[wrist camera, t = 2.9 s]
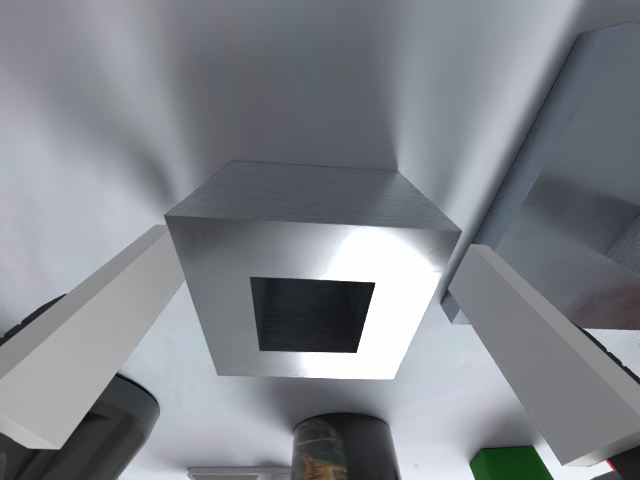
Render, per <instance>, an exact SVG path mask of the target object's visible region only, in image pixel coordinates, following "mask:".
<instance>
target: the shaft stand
mask: <svg viewBox="0 0 640 480" xmlns="http://www.w3.org/2000/svg"><path fill="white" fill-rule="evenodd" d="M472 244H478V245H488V246H489V247H490V248H491V249H492V250H493V251H494V252H495V253H496V254H497V255H499V256H500V257H501V258H502V259H503V260H504V261H505V262H506V263H507V264H508V265H509V266H510V267H512V268H513V269H514V270H515V271H516V272H517V273H518V274H519V275H520V276H521V277H522V278H524V279H525V280H526V281H527V282H528V283H529V284H530V285H531V286H532V287H533V288H534V289H536V290H537V291H538V292H539V293H540V294H541V295H542V296H543V297H544V298H545V299H546V300H548V301H549V302H550V303H551V304H552V305H553V306H554V307H555V308H556V309H557V310H558V311H559V312H561V313H562V314H563V315H564V316H565V317H566V318H567V319H569V320H570V321H572V322H573V323H575V324H576V325H578V326H579V327H581V328H589V329H619V330H640V23H635V22H627V23H623V24H619V25H614V26H610V27H606V28H602V29H597V30H593V31H589V32H584V33H580V35H579V37H578V39H577V41H576V43H575V45H574V47H573V48H572V50H571V52H570V54H569V56H568V58H567V60H566V62H565V64H564V66H563V68H562V70H561V72H560V74H559V76H558V78H557V80H556V82H555V84H554V85H553V87H552V89H551V91H550V93H549V95H548V97H547V99H546V101H545V103H544V105H543V107H542V109H541V111H540V113H539V115H538V117H537V119H536V121H535V122H534V124H533V126H532V128H531V130H530V132H529V134H528V136H527V138H526V140H525V142H524V144H523V146H522V148H521V150H520V152H519V154H518V156H517V157H516V159H515V161H514V163H513V165H512V167H511V169H510V171H509V173H508V175H507V177H506V179H505V181H504V183H503V185H502V187H501V189H500V191H499V193H498V194H497V196H496V198H495V200H494V202H493V204H492V206H491V208H490V210H489V212H488V214H487V216H486V218H485V220H484V222H483V224H482V226H481V228H480V229H479V231H478V233H477V235H476V237H475V239H474V241H473V243H472ZM441 307H442V308H443V310H444V312H445V314H446V315H447V317H448V319H449V320H450V322H451V324H470V322H469V321H468V319H467V318H466V316H465V314H464V313H463V311H462V310H461V308H460V307H459V305H458V304H457V302H456V300H455V299H454V297H453V296H452V294H451V293H450V291H449V290H448V292H447V294H446V296H445V298H444V300H443V302H442V303H441Z"/></svg>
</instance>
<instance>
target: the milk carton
mask: <svg viewBox="0 0 640 480" xmlns="http://www.w3.org/2000/svg"><path fill="white" fill-rule="evenodd" d="M469 465H470V468H471V470H472V473H473V475H474V478H475V480H554V479H553V477H552V476H551V474H550V472H549V471H548V469H547V468H546V466H545V464H544V463H543V461H542V459H541V458H540V456H539V455H538V453H537V451H536V450H535V448H534V447H533V446H532V447H515V448H496V449H481V451H480V452H479V453H478V454H477V456H476V457H475V458H474V459H473V461H472V462H471V463H470V464H469Z"/></svg>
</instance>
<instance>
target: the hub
mask: <svg viewBox="0 0 640 480" xmlns="http://www.w3.org/2000/svg"><path fill="white" fill-rule="evenodd" d="M164 217H165V220H166V223H167V226H168V229H169V232H170V235H171V238H172V241H173V244H174V247H175V250H176V253H177V256H178V259H179V262H180V265H181V268H182V270H183V273H184V276H185V279H186V282H187V285H188V288H189V291H190V294H191V297H192V300H193V303H194V306H195V309H196V312H197V315H198V318H199V321H200V324H201V327H202V330H203V333H204V336H205V339H206V342H207V345H208V348H209V351H210V354H211V357H212V360H213V363H214V366H215V369H216V372H217V375H218V376H264V377H310V378H355V379H393V378H394V376H395V374H396V372H397V370H398V367H399V365H400V363H401V361H402V359H403V357H404V355H405V353H406V350H407V348H408V346H409V344H410V342H411V340H412V338H413V335H414V333H415V331H416V329H417V327H418V325H419V323H420V321H421V318H422V316H423V314H424V312H425V310H426V308H427V306H428V304H429V301H430V299H431V297H432V295H433V293H434V291H435V289H436V286H437V284H438V282H439V280H440V278H441V276H442V274H443V272H444V269H445V267H446V265H447V263H448V261H449V259H450V257H451V255H452V252H453V250H454V248H455V246H456V244H457V242H458V240H459V237H460V235H461V233H462V230H461V229H460V228H459V227H457V226H456V225H455V224H454V223H453V222H452V221H451V220H450V219H449V218H448V217H447V216H446V215H445V214H444V213H442V212H441V211H440V210H439V209H438V208H437V207H436V206H435V205H434V204H433V203H432V202H431V201H430V200H429V199H427V198H426V197H425V196H424V195H423V194H422V193H421V192H420V191H419V190H418V189H417V188H416V187H415V186H414V185H412V184H411V183H410V182H409V181H408V180H407V179H406V178H405V177H404V176H403V175H402V174H401V173H400V172H398V171H383V170H368V169H352V168H337V167H322V166H306V165H291V164H276V163H260V162H245V161H232V162H231V163H230V164H228V165H227V166H226V167H225V168H223V169H222V170H221V171H219V172H218V173H217V174H216V175H214V176H213V177H212V178H211V179H209V180H208V181H207V182H205V183H204V184H203V185H202V186H200V187H199V188H198V189H197V190H195V191H194V192H193V193H192V194H190V195H189V196H188V197H186V198H185V199H184V200H183V201H181V202H180V203H179V204H178V205H176V206H175V207H174V208H172V209H171V210H170V211H169V212H167V213H166V214H165V215H164Z"/></svg>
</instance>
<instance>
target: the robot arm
mask: <svg viewBox="0 0 640 480" xmlns="http://www.w3.org/2000/svg"><path fill="white" fill-rule="evenodd" d="M184 281H185V276H184V273H183V270H182V268H181V265H180V262H179V259H178V256H177V253H176V250H175V247H174V244H173V241H172V238H171V235H170V232H169V229H168V226H167V225H155V226H153V227H152V228H151V229H149V230H148V231H147V232H146V233H144V234H143V235H142V236H141V237H139V238H138V239H137V240H136V241H134V242H133V243H132V244H130V245H129V246H128V247H127V248H125V249H124V250H123V251H122V252H120V253H119V254H118V255H116V256H115V257H114V258H113V259H111V260H110V261H109V262H108V263H106V264H105V265H104V266H102V267H101V268H100V269H99V270H97V271H96V272H95V273H94V274H92V275H91V276H90V277H88V278H87V279H86V280H85V281H83V282H82V283H81V284H80V285H78V286H77V287H76V288H74V289H73V290H72V291H71V292H69V293H68V294H64V295H62V296H60V297H58V298H56V299H54V300H52V301H50V302H48V303H46V304H45V305H43V306H41V307H40V308H38V309H37V310H36V311H34V312H33V313H32V314H30V315H29V316H28V317H27V318H25V319H24V320H23V321H22V323H21V324H20V325H19V324H17V325H16V326H15V327H13V328H12V329H11V330H9V331H8V332H7V333H5V334H4V337H3V338H0V480H117V479H118V477H119V476H120V475H121V473H122V472H123V471H124V470H125V468H126V467H127V466H128V465H129V463H130V462H131V461H132V459H133V458H134V457H135V456H136V454H137V453H138V452H139V450H140V449H141V448H142V447H143V446H144V444H145V443H146V441H147V439H148V438H149V436H150V433H151V431H152V429H153V427H154V425H155V423H156V421H157V419H158V417H159V415H160V410H159V407H158V405H157V403H156V402H155V400H154V399H153V398H152V397H151V396H150V395H148V394H147V393H146V392H145V391H143V390H142V389H140V388H139V387H137V386H135V385H133V384H132V383H130V382H128V381H126V380H123V379H121V378H119V377H117V376H115V374H116V373H117V371H118V370H119V369H120V367H121V366H122V365H123V363H124V362H125V361H126V359H127V358H128V357H129V355H130V354H131V352H132V351H133V350H134V348H135V347H136V346H137V344H138V343H139V342H140V340H141V339H142V338H143V336H144V335H145V333H146V332H147V331H148V329H149V328H150V327H151V325H152V324H153V323H154V321H155V320H156V319H157V317H158V316H159V314H160V313H161V312H162V310H163V309H164V308H165V306H166V305H167V304H168V302H169V301H170V300H171V298H172V297H173V295H174V294H175V293H176V291H177V290H178V289H179V287H180V286H181V285H182V283H183V282H184ZM448 290H449V291H450V293H451V294H452V296H453V297H454V299H455V300H456V302H457V304H458V305H459V307H460V308H461V310H462V311H463V313H464V314H465V316H466V318H467V319H468V321H469V322H470V324H471V325H472V327H473V328H474V330H475V331H476V333H477V335H478V336H479V338H480V339H481V341H482V342H483V344H484V345H485V347H486V349H487V350H488V352H489V353H490V355H491V356H492V358H493V359H494V361H495V363H496V364H497V366H498V367H499V369H500V370H501V372H502V373H503V375H504V377H505V378H506V380H507V381H508V383H509V384H510V386H511V387H512V389H513V390H514V392H515V394H516V395H517V397H518V398H519V400H520V401H521V403H522V404H523V406H524V408H525V409H526V411H527V412H528V414H529V415H530V417H531V418H532V420H533V422H534V423H535V425H536V426H537V428H538V429H539V431H540V432H541V434H542V435H543V437H544V439H545V440H546V442H547V443H548V445H549V446H550V448H551V449H552V451H553V453H554V454H555V456H556V457H557V459H558V460H559V462H560V463H561V465H562V466H580V467H590V466H593V465H595V464H597V463H600V462H602V461H605V460H608V461H609V462H610V463H611V465H612V466H613V467H614V469H615V470H613V471H611V472H608V473H605V474H603V475H600V476H597V477H595V478H593V479H591V480H640V378H639V377H638V376H636V375H635V374H634V373H633V372H632V371H631V370H630V369H629V368H627V367H626V366H623V365H622V362H621V361H620V360H619V359H617V358H616V357H615V356H614V355H613V354H612V353H611V352H607V349H606V348H605V347H604V346H603V345H602V344H601V343H600V342H599V341H597V340H596V339H595V338H594V337H593V336H592V335H591V334H590V333H588V332H587V331H585V330H584V329H582V328H581V327H579V326H578V325H576V324H575V323H573V322H572V321H570V320H569V319H567V318H566V317H565V316H564V315H563V314H562V313H561V312H559V311H558V310H557V309H556V308H555V307H554V306H553V305H552V304H551V303H550V302H549V301H548V300H546V299H545V298H544V297H543V296H542V295H541V294H540V293H539V292H538V291H537V290H536V289H534V288H533V287H532V286H531V285H530V284H529V283H528V282H527V281H526V280H525V279H524V278H522V277H521V276H520V275H519V274H518V273H517V272H516V271H515V270H514V269H513V268H512V267H510V266H509V265H508V264H507V263H506V262H505V261H504V260H503V259H502V258H501V257H500V256H499V255H497V254H496V253H495V252H494V251H493V250H492V249H491V248H490V247H489V246H488V245H478V244H470V246H469V248H468V250H467V252H466V254H465V256H464V258H463V260H462V261H461V263H460V265H459V267H458V269H457V271H456V273H455V275H454V277H453V279H452V281H451V283H450V285H449V287H448Z"/></svg>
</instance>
